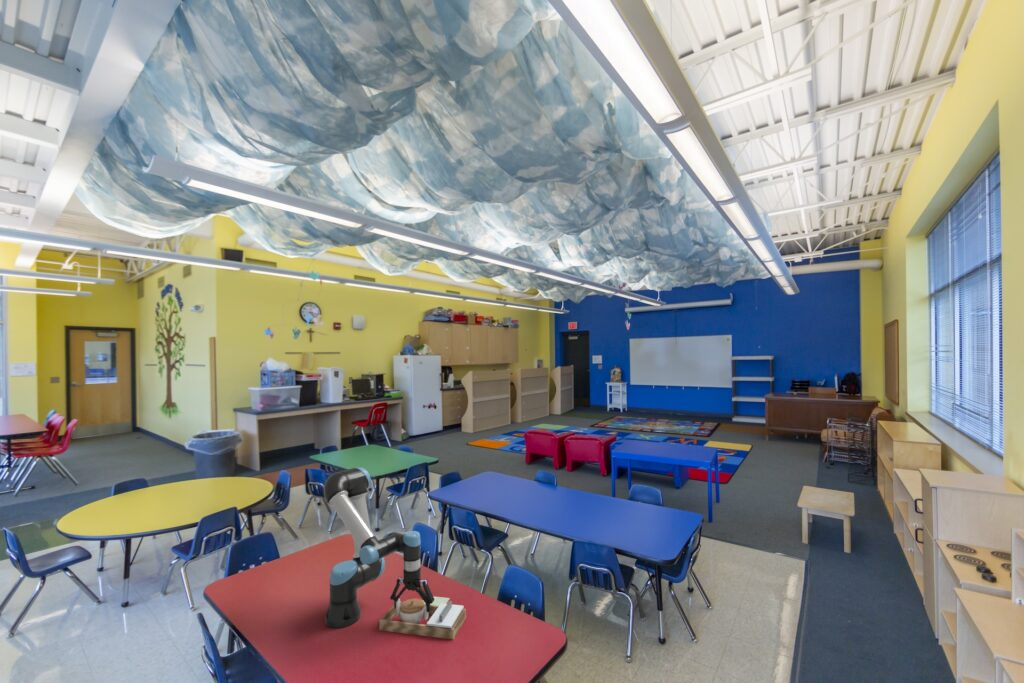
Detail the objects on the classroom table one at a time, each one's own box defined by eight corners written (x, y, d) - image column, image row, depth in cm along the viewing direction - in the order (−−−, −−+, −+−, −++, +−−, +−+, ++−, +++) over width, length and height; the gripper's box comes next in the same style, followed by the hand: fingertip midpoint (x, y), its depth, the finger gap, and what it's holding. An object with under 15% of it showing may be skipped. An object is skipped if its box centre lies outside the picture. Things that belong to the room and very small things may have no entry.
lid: (426, 625, 184) (426, 617, 184) (440, 605, 199) (440, 597, 199) (451, 628, 181) (451, 619, 181) (463, 607, 197) (463, 599, 197)
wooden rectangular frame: (379, 630, 188) (379, 620, 188) (397, 609, 204) (397, 601, 204) (453, 639, 181) (453, 629, 181) (465, 617, 196) (465, 608, 197)
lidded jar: (418, 631, 187) (418, 608, 188) (395, 628, 189) (395, 606, 190) (428, 617, 198) (428, 595, 198) (406, 614, 200) (406, 593, 200)
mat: (416, 610, 203) (416, 608, 203) (426, 596, 215) (426, 595, 215) (440, 612, 201) (440, 611, 201) (449, 599, 212) (449, 598, 212)
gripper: (382, 569, 194) (382, 618, 193) (434, 574, 189) (435, 624, 187) (390, 562, 201) (390, 609, 200) (441, 566, 196) (441, 615, 195)
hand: (412, 617), depth 194 cm, fingers open, 13 cm apart
